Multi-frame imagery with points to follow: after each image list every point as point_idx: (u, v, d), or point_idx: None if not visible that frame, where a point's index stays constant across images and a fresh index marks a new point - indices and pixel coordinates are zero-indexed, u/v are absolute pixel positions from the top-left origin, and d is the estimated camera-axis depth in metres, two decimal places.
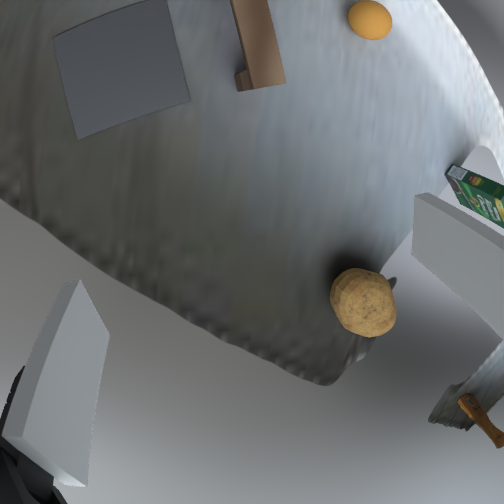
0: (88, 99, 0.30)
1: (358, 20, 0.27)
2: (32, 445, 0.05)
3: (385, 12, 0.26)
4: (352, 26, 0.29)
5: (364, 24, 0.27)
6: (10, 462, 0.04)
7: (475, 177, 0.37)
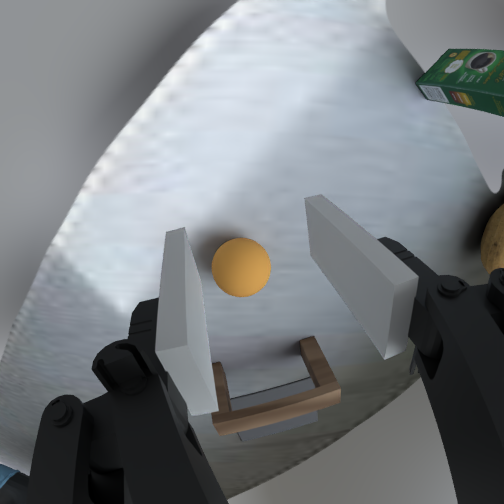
0: (294, 420, 0.49)
1: None
2: (191, 356, 0.07)
3: (237, 276, 0.27)
4: None
5: None
6: (165, 390, 0.06)
7: (457, 93, 0.22)
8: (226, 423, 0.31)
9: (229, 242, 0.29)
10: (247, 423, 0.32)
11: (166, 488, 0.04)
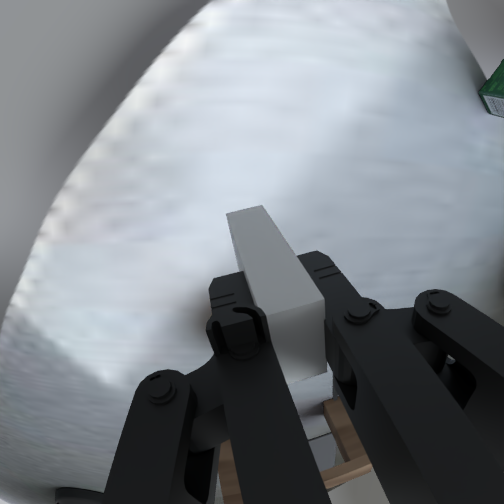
0: None
1: None
2: (294, 320, 0.07)
3: None
4: None
5: None
6: None
7: None
8: None
9: None
10: None
11: (276, 457, 0.04)
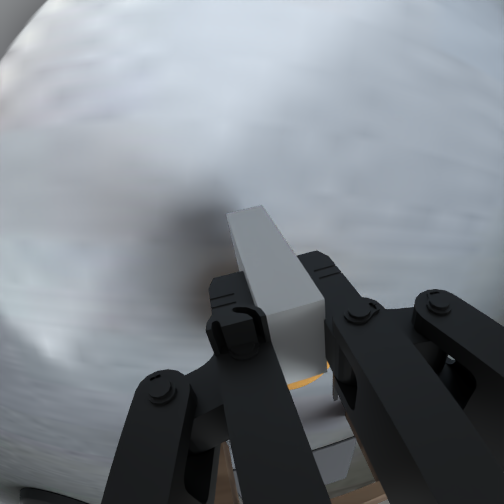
0: None
1: None
2: (294, 320, 0.07)
3: None
4: None
5: None
6: None
7: None
8: None
9: None
10: None
11: (276, 457, 0.04)
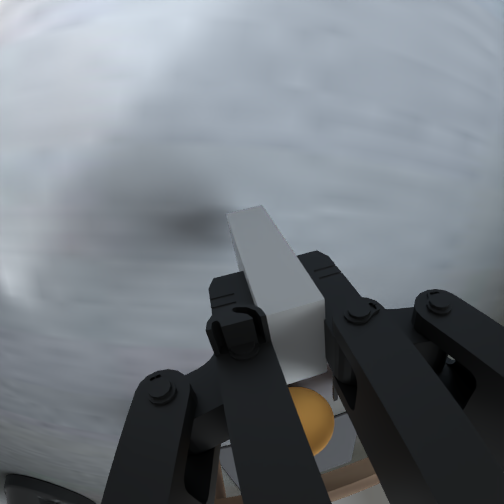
0: (318, 465, 0.30)
1: None
2: (294, 320, 0.07)
3: None
4: None
5: (318, 452, 0.18)
6: None
7: None
8: None
9: None
10: None
11: (276, 457, 0.04)
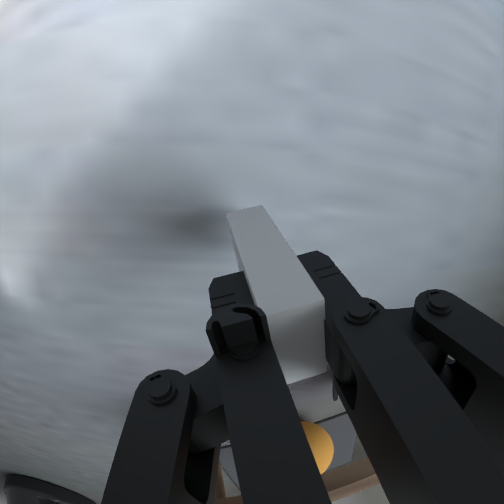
0: None
1: None
2: (294, 320, 0.07)
3: None
4: None
5: None
6: None
7: None
8: None
9: None
10: None
11: (276, 457, 0.04)
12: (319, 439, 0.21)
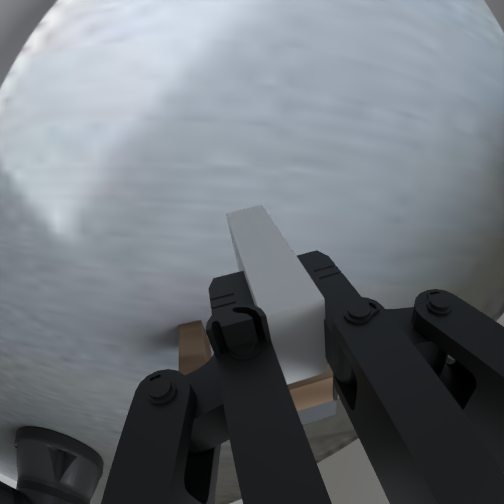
0: (305, 414, 0.37)
1: None
2: (294, 320, 0.07)
3: None
4: None
5: None
6: None
7: None
8: None
9: None
10: None
11: (276, 457, 0.04)
12: None
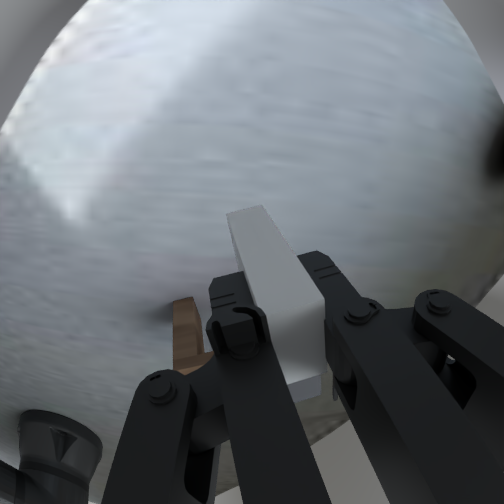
0: (292, 393, 0.41)
1: None
2: (294, 320, 0.07)
3: None
4: None
5: None
6: None
7: None
8: (192, 371, 0.23)
9: None
10: None
11: (276, 457, 0.04)
12: None
